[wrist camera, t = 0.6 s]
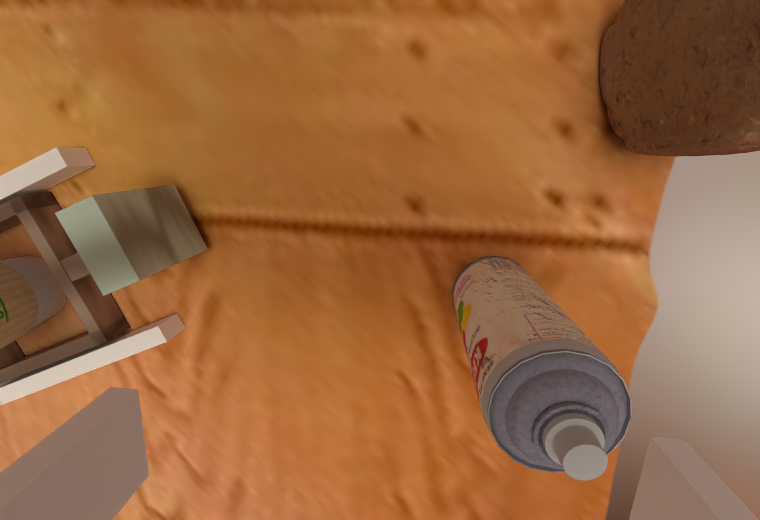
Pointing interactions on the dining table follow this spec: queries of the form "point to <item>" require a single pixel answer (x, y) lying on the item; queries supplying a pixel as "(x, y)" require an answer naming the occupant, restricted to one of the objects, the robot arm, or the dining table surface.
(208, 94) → the dining table surface
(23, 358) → the square frame with handle
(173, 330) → the light grey u-shaped frame
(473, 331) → the aerosol can
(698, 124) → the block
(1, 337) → the coffee cup
